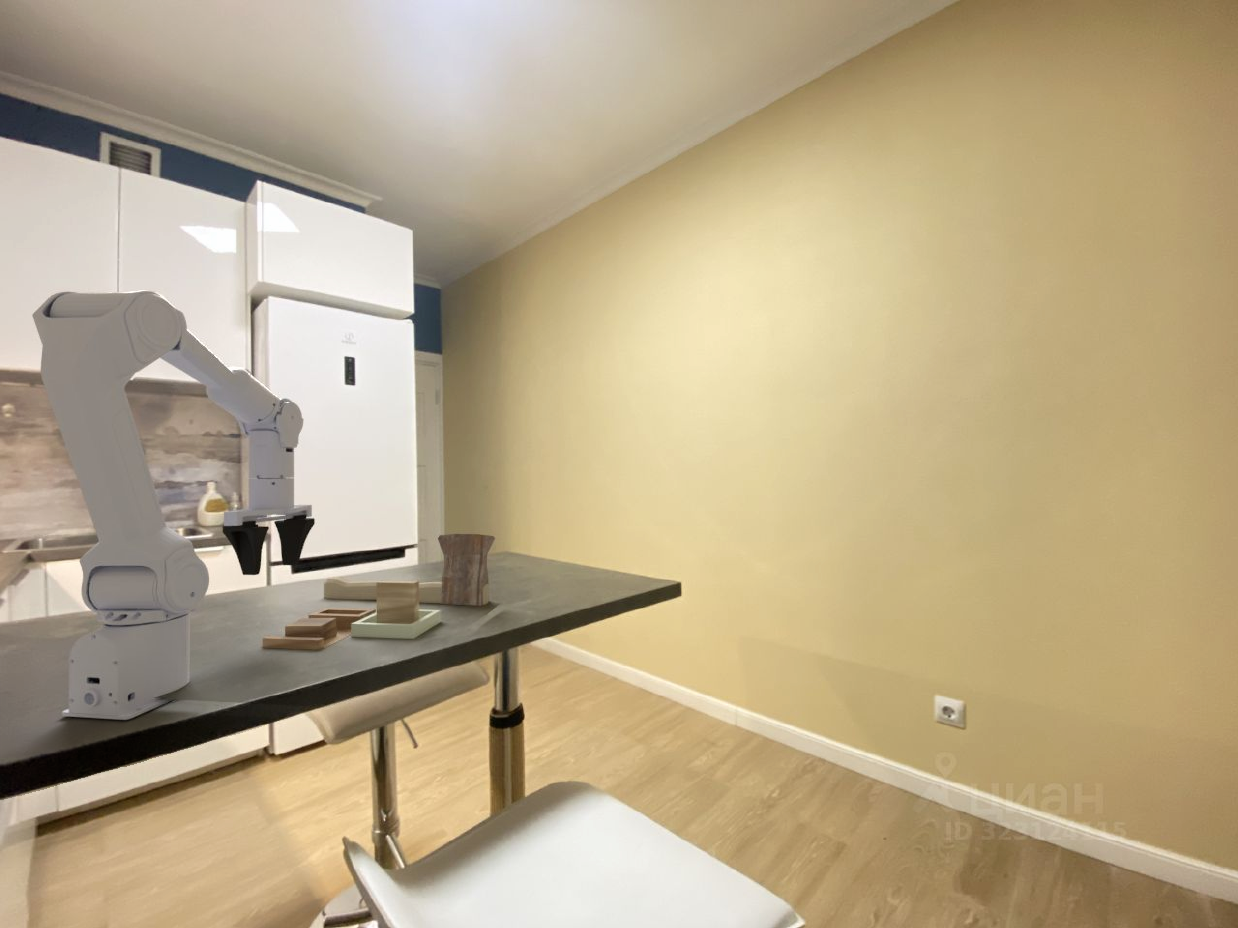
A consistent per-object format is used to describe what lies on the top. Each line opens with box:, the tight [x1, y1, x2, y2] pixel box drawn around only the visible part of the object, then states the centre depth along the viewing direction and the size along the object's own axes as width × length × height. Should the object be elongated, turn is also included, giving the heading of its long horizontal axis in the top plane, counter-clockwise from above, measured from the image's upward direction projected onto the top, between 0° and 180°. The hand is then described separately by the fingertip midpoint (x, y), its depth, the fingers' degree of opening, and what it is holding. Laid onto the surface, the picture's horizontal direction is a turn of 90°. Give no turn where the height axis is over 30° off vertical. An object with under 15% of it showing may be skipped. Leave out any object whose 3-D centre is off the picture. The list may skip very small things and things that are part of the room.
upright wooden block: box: [376, 579, 420, 624], centre depth 81 cm, size 2×6×8 cm, turn 83°
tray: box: [350, 608, 442, 640], centre depth 81 cm, size 9×10×3 cm
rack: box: [261, 607, 377, 650], centre depth 79 cm, size 14×9×3 cm, turn 173°
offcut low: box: [284, 627, 337, 641], centre depth 76 cm, size 4×5×1 cm
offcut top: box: [284, 617, 336, 636], centre depth 76 cm, size 4×5×1 cm
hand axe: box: [323, 533, 496, 607], centre depth 99 cm, size 35×3×14 cm, turn 79°
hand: (271, 569), depth 79 cm, fingers open, 7 cm apart
